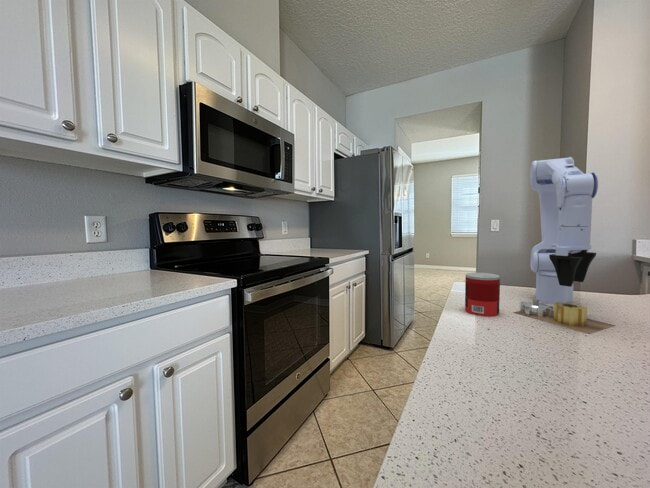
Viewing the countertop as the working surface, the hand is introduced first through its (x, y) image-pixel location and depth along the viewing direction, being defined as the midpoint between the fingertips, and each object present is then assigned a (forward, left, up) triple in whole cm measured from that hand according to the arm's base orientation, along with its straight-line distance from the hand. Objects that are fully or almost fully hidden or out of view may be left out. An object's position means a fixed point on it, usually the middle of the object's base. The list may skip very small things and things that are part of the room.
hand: (571, 283), depth 66 cm
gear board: (+1, -2, -10) cm, 10 cm away
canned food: (+13, -14, -10) cm, 21 cm away
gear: (+2, -7, -9) cm, 11 cm away
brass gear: (+2, +1, -9) cm, 9 cm away
